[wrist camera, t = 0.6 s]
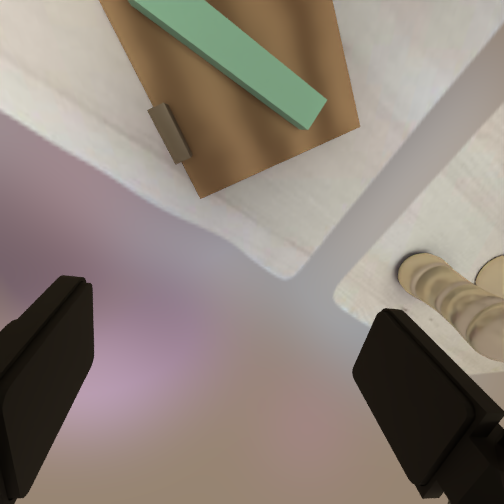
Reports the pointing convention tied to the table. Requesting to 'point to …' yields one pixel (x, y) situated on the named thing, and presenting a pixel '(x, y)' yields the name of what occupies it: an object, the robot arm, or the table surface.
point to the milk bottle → (492, 277)
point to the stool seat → (238, 88)
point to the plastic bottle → (457, 302)
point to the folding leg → (236, 57)
